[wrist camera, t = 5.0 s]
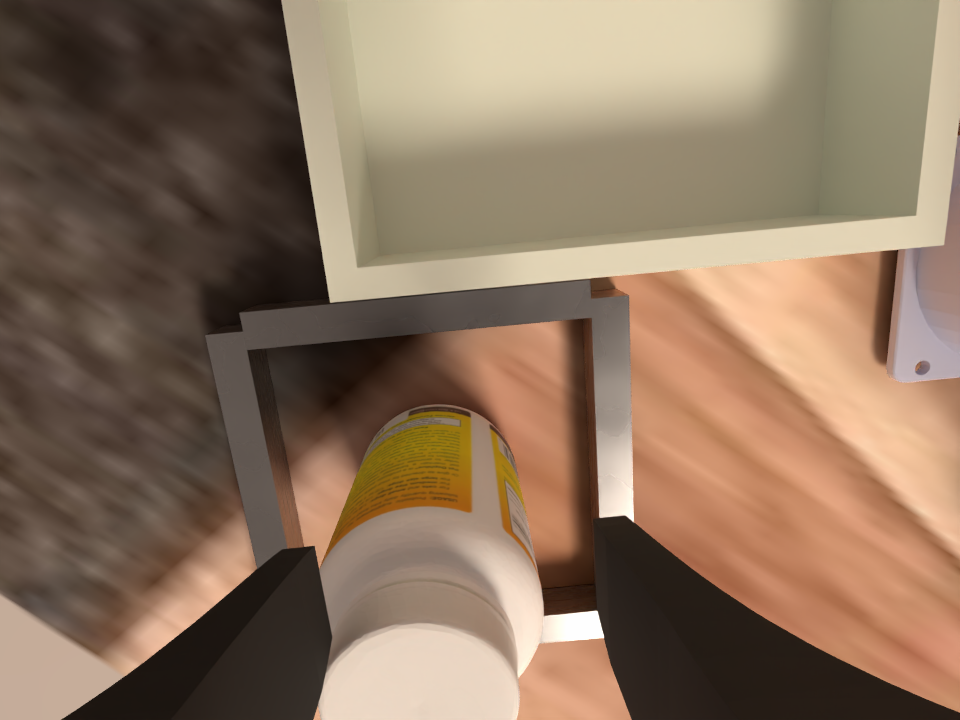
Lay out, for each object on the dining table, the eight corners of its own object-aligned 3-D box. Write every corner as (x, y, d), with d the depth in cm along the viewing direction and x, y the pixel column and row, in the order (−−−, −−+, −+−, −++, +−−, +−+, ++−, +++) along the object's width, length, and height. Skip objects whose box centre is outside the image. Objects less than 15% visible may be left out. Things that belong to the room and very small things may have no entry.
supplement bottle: (335, 483, 21) (216, 732, 11) (423, 368, 20) (382, 528, 10) (455, 562, 22) (447, 855, 12) (546, 456, 21) (620, 682, 11)
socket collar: (616, 271, 19) (628, 276, 17) (625, 607, 22) (636, 634, 21) (221, 308, 19) (200, 316, 17) (291, 638, 22) (279, 668, 21)
